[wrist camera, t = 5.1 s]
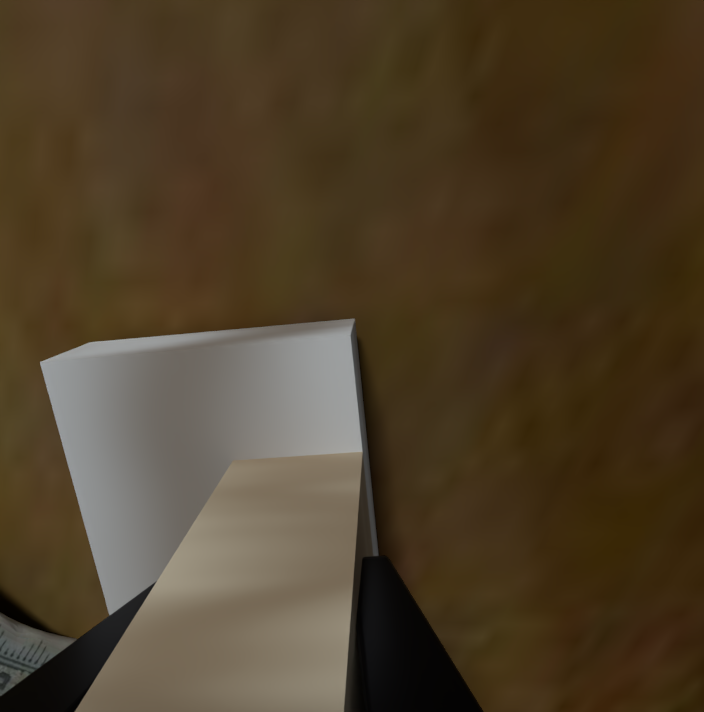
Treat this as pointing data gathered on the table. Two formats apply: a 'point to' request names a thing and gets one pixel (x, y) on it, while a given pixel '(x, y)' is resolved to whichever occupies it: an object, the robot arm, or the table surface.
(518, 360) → the table surface
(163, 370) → the plate with square post
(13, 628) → the ceramic fragment
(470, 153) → the table surface
